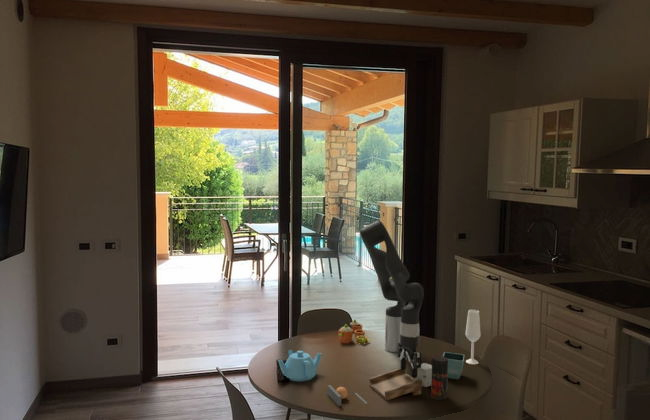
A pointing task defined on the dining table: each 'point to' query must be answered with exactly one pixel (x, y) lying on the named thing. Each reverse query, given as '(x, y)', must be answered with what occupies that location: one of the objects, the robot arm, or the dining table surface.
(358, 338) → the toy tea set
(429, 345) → the dining table surface
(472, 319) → the champagne flute
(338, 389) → the ball
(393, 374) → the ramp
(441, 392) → the deodorant
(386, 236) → the robot arm
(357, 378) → the dining table surface
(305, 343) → the dining table surface
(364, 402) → the grey thin rod
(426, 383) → the skincare box
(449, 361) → the flower pot
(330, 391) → the rail
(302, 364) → the teapot
